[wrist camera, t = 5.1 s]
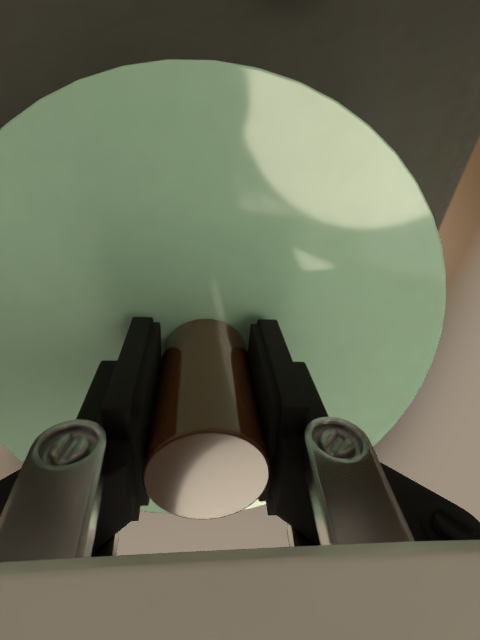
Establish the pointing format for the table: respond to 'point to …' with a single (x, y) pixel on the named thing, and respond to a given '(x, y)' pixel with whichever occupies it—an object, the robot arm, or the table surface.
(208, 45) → the table surface
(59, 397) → the pot lid
